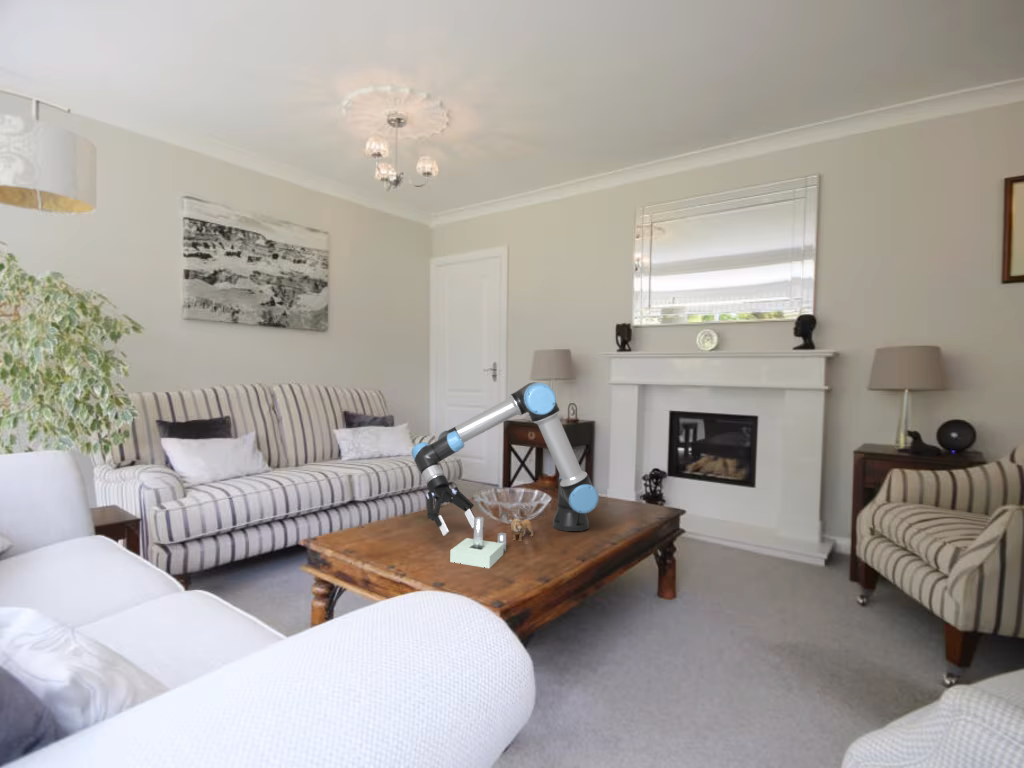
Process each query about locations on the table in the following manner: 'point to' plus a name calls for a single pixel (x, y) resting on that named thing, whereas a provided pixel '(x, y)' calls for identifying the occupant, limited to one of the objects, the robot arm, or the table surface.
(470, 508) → the robot arm
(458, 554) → the socket block
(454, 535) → the table surface
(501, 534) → the short peg
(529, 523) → the lion figurine
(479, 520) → the tall peg
